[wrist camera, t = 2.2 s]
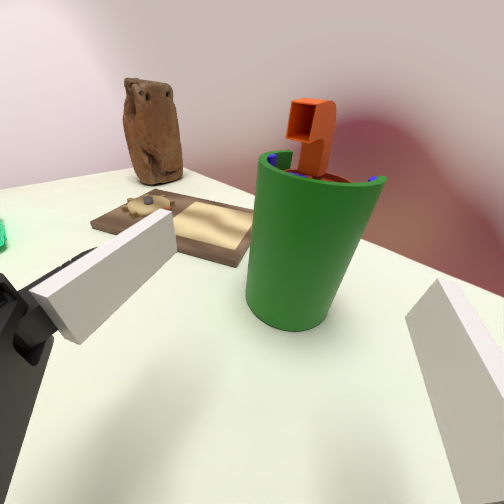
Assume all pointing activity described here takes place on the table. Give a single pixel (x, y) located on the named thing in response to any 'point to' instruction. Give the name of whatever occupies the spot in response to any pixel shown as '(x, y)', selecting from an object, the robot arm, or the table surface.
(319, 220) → the motor
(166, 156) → the block
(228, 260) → the mounting board
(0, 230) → the camera mount
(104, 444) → the table surface
